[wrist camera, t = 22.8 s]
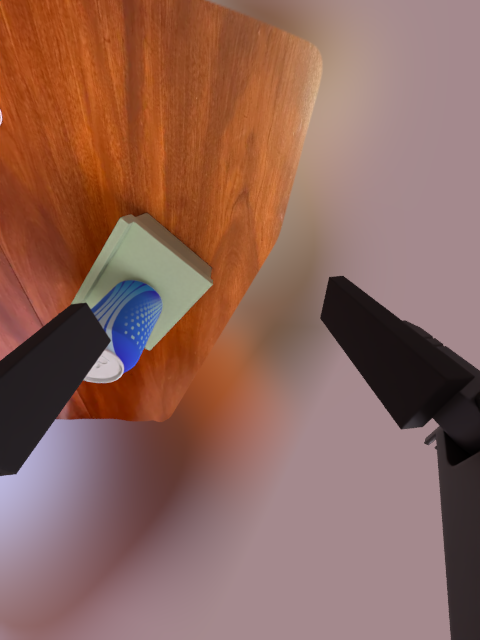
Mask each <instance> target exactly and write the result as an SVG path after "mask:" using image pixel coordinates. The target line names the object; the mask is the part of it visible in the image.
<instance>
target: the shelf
mask: <svg viewBox="0 0 480 640" xmlns="http://www.w3.org/2000/svg"><path fill="white" fill-rule="evenodd" d="M211 270H212V268H211V267H210V266H209V265H208V264H207V263H206V262H204V261H203V260H202V259H201V258H200V257H198V256H197V255H196V254H195V253H194V252H193V251H191V250H190V249H189V248H188V247H187V246H186V245H184V244H183V243H182V242H181V241H180V240H179V239H177V238H176V237H175V236H174V235H173V234H172V233H170V232H169V231H168V230H167V229H166V228H164V227H163V226H162V225H161V224H160V223H159V222H157V221H156V220H155V219H154V218H153V217H152V216H150V215H149V214H148V213H145V214H142V215H139V216H137V217H134V216H133V215H132V214H129V215H126V216H123V217H120V219H119V220H118V222H117V224H116V226H115V227H114V229H113V231H112V233H111V235H110V236H109V238H108V240H107V242H106V243H105V245H104V247H103V249H102V250H101V252H100V254H99V256H98V257H97V259H96V261H95V263H94V265H93V266H92V268H91V270H90V272H89V273H88V275H87V277H86V279H85V280H84V282H83V284H82V286H81V287H80V289H79V291H78V293H77V295H76V296H75V298H74V300H73V302H72V303H71V304H77V303H87V304H88V306H89V307H90V309H92V308H93V307H94V306H95V305H96V304H97V303H98V302H99V301H100V300H101V299H102V298H103V297H104V296H105V295H107V294H108V293H109V292H110V291H111V290H112V289H113V288H114V287H115V286H116V285H117V284H118V283H120V282H122V281H126V280H136V281H141V282H143V283H146V284H148V285H150V286H151V287H153V288H154V289H155V290H156V291H157V293H158V294H159V295H160V297H161V299H162V303H163V308H162V311H161V314H160V316H159V318H158V320H157V322H156V324H155V326H154V328H153V330H152V332H151V334H150V337H149V339H148V341H147V343H146V345H145V347H144V348H146V349H148V350H151V349H152V348H153V347H154V346H155V345H156V344H157V343H158V342H159V341H160V339H161V338H162V337H163V336H164V335H165V334H166V333H167V332H168V331H169V330H170V329H171V328H172V327H173V326H174V325H175V324H176V323H177V322H178V321H179V319H180V318H181V317H182V316H183V315H184V314H185V313H186V312H187V311H188V310H189V309H190V308H191V307H192V306H193V305H194V304H195V303H196V302H197V301H198V300H199V298H200V297H201V296H202V295H203V294H204V293H205V292H206V291H207V290H208V289H209V288H210V287H211V286H212V285H213V280H212V279H210V278H211Z"/></svg>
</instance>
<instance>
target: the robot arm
mask: <svg viewBox="0 0 480 640" xmlns="http://www.w3.org/2000/svg"><path fill="white" fill-rule="evenodd" d="M321 320H322V321H323V323H324V324H325V325H326V327H327V328H328V330H329V331H330V332H331V334H332V335H333V336H334V338H335V339H336V341H337V342H338V343H339V345H340V346H341V347H342V349H343V350H344V352H345V353H346V354H347V356H348V357H349V358H350V360H351V361H352V363H353V364H354V365H355V367H356V368H357V369H358V371H359V372H360V374H361V375H362V376H363V378H364V379H365V380H366V382H367V383H368V385H369V386H370V387H371V389H372V390H373V391H374V393H375V394H376V396H377V397H378V398H379V400H380V401H381V402H382V404H383V405H384V407H385V408H386V409H387V411H388V412H389V413H390V415H391V416H392V418H393V419H394V420H395V422H396V423H397V424H398V426H399V427H400V429H408V428H417V427H423V426H424V425H425V424H426V423H427V422H428V421H429V420H431V419H432V418H433V419H434V420H435V421H436V422H437V423H438V424H439V425H440V426H439V427H438V428H437V429H436V430H435V431H433V432H432V433H431V434H430V435H429V436H428V437H427V438H426V439H425V442H424V443H425V444H427V445H429V444H431V443H432V442H433V441H434V440H436V441H437V446H436V447H435V449H437V455H438V468H439V481H440V482H439V483H440V496H441V510H442V522H443V536H444V551H445V563H446V577H447V591H448V605H449V618H450V631H451V640H480V371H479V370H478V369H476V368H475V367H474V366H472V365H471V364H470V363H468V362H467V361H466V360H464V359H463V358H462V357H460V356H459V355H457V354H456V353H455V352H453V351H452V350H450V349H449V348H448V347H446V346H443V344H442V343H441V342H439V341H438V340H437V339H435V338H434V339H433V337H432V336H431V335H430V334H428V333H427V332H426V331H424V330H423V329H422V328H420V327H418V326H415V325H414V324H411V323H409V322H407V321H402V320H400V319H399V318H398V317H396V316H395V315H394V314H392V313H391V312H390V311H389V310H387V309H386V308H385V307H383V306H382V305H380V304H379V303H378V302H377V301H375V300H374V299H373V298H372V297H370V296H369V295H368V294H366V293H365V292H363V291H362V290H361V289H360V288H358V287H357V286H356V285H354V284H353V283H352V282H350V281H349V280H348V279H347V278H345V277H344V276H337V277H329V281H328V285H327V290H326V295H325V299H324V304H323V308H322V313H321ZM110 342H111V340H110V338H109V337H108V335H107V333H106V332H105V330H104V329H103V327H102V326H101V324H100V323H99V321H98V320H97V318H96V316H95V315H94V313H93V312H92V310H91V309H90V307H89V306H88V304H87V303H77V304H71V305H70V306H69V307H68V308H66V309H65V310H64V311H63V312H61V313H60V314H59V315H57V316H56V317H55V318H54V319H52V320H51V321H50V322H49V323H47V324H46V325H45V326H44V327H42V328H41V329H40V330H39V331H37V332H36V333H35V334H34V335H32V336H31V337H30V338H29V339H27V340H26V341H25V342H24V343H22V344H21V345H20V346H18V347H17V348H16V349H15V350H13V351H12V352H11V353H10V354H8V355H7V356H6V357H5V358H3V359H2V360H1V361H0V476H4V475H13V474H17V472H18V471H19V469H20V468H21V467H22V465H23V464H24V462H25V461H26V460H27V458H28V457H29V455H30V454H31V452H32V451H33V450H34V448H35V447H36V446H37V444H38V443H39V441H40V440H41V438H42V437H43V436H44V434H45V433H46V431H47V430H48V428H49V427H50V426H51V424H52V423H53V422H54V420H55V419H56V417H57V416H58V415H59V413H60V412H61V410H62V409H63V408H64V406H65V405H66V403H67V402H68V401H69V399H70V398H71V396H72V395H73V394H74V392H75V391H76V389H77V388H78V387H79V385H80V384H81V382H82V381H83V380H84V378H85V377H86V375H87V374H88V373H89V371H90V370H91V368H92V367H93V366H94V364H95V363H96V361H97V360H98V359H99V357H100V356H101V354H102V353H103V352H104V350H105V349H106V347H107V346H108V345H109V343H110Z"/></svg>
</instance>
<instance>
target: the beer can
mask: <svg viewBox="0 0 480 640" xmlns="http://www.w3.org/2000/svg"><path fill="white" fill-rule="evenodd" d="M162 308H163V303H162V299H161V297H160V295H159V294H158V293H157V291H156V290H155V289H154V288H153V287H151V286H150V285H148V284H146V283H143V282H141V281H136V280H126V281H122V282H120V283H118V284H117V285H116V286H115V287H114V288H113V289H112V290H111V291H110V292H109V293H108V294H107V295H105V296H104V297H103V298H102V299H101V300H100V301H99V302H98V303H97V304H96V305H95V306H94V307H93V308H92V309H91V310H92V312H93V313H94V315H95V316H96V318H97V320H98V321H99V323H100V324H101V326H102V327H103V329H104V330H105V332H106V333H107V335H108V337H109V338H110V340H111V342H110V343H109V345H108V346H107V347H106V349H105V350H104V352H103V353H102V354H101V356H100V357H99V359H98V360H97V361H96V363H95V364H94V366H93V367H92V368H91V370H90V371H89V373H88V374H87V375H86V377H85V378H84V380H85V381H88V382H94V383H108V382H113V381H115V380H117V379H119V378H120V377H121V376H122V374H123V373H125V372H127V371H128V370H130V369H131V368H133V367H134V366H135V365H136V363H137V362H138V360H139V357H140V355H141V353H142V351H143V349H144V347H145V345H146V343H147V341H148V339H149V337H150V334H151V332H152V330H153V328H154V326H155V324H156V322H157V320H158V318H159V316H160V314H161V311H162Z"/></svg>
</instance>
